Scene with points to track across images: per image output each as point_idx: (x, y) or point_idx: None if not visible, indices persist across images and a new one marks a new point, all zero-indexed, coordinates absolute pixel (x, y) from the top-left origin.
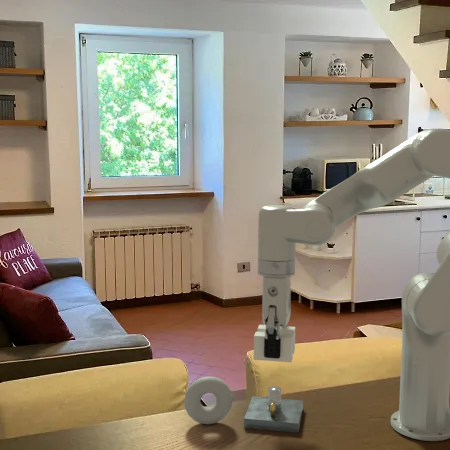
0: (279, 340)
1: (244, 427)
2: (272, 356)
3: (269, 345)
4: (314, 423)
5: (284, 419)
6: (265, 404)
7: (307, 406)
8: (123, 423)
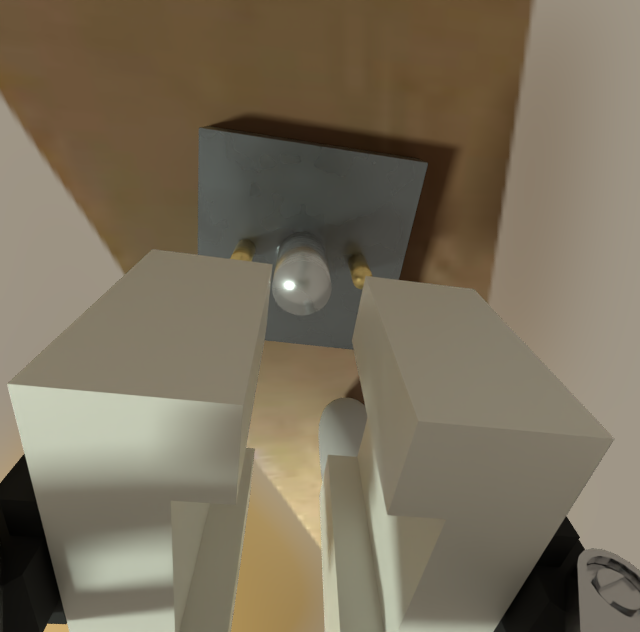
0: (566, 530)
1: None
2: None
3: None
4: (336, 81)
5: (390, 219)
6: None
7: (172, 100)
8: None
